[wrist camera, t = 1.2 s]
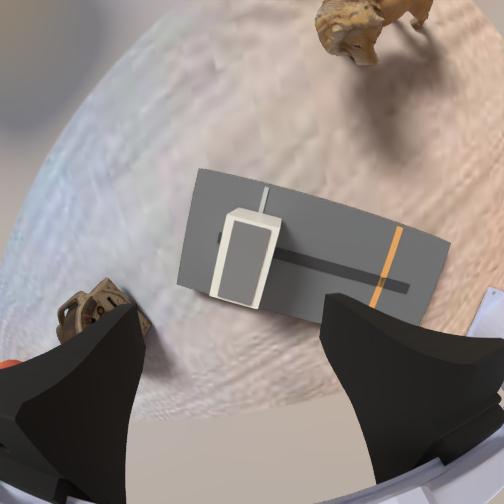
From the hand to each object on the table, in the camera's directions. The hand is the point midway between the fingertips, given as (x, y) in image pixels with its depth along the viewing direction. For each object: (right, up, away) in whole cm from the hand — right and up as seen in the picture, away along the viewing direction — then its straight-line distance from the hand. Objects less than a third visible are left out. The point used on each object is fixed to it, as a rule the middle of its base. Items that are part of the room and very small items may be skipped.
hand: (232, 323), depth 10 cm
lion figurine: (+11, +20, +7) cm, 24 cm away
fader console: (+6, +2, +11) cm, 13 cm away
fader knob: (+1, +3, +10) cm, 10 cm away
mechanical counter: (-15, -4, +16) cm, 23 cm away
